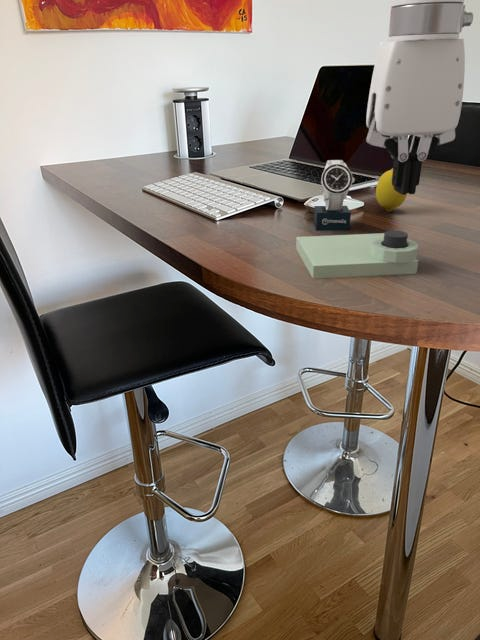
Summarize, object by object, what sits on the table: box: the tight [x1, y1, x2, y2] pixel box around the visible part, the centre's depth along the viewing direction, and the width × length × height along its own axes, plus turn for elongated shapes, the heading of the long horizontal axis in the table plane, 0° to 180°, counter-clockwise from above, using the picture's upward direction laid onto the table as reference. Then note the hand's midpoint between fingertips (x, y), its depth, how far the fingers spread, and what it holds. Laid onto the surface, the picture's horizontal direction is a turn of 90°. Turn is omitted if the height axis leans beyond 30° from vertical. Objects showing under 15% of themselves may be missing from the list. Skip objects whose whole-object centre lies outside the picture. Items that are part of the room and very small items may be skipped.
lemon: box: [375, 167, 408, 213], centre depth 91 cm, size 6×6×8 cm
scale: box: [295, 232, 419, 280], centre depth 70 cm, size 14×12×4 cm
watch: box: [313, 159, 356, 232], centre depth 83 cm, size 6×8×11 cm
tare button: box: [383, 230, 409, 248], centre depth 66 cm, size 3×3×2 cm
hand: (404, 191), depth 64 cm, fingers closed
